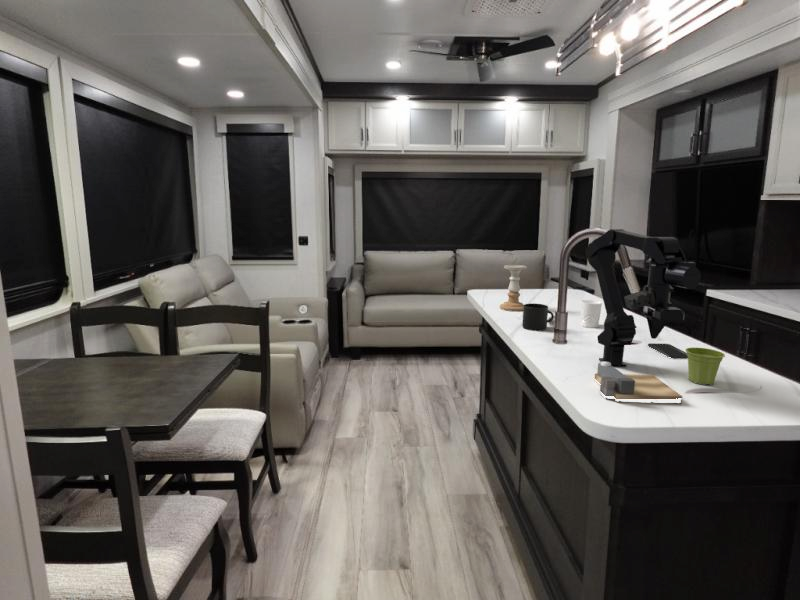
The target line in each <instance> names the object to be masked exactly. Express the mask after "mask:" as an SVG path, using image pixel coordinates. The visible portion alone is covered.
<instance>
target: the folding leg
mask: <svg viewBox="0 0 800 600" xmlns="http://www.w3.org/2000/svg"><path fill="white" fill-rule="evenodd" d="M596 374H598V375H600V376H601V375H609V376H610V377H612V378H613V379H614V380H615V387H614V388H615V389H616V390H617V391H618V392H619V393H620V394H634V387H635V380H633V379H632V378H628V377H626V376H625V375H624V374H625V373H623V372H621V371H620V370H619V369H617V368H616V367H615V366H612V365H611V363H610V362H605V361H603V362H601V361H600V362H599V363H598V364H597V372H596Z"/></svg>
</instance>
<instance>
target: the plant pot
mask: <svg viewBox="0 0 800 600" xmlns="http://www.w3.org/2000/svg"><path fill="white" fill-rule="evenodd" d="M685 352H686V353H687V356H688V359H687V365H688V367H687V368H688V369H687V371H688V381H691V382H692V381H693V382H692V383H694V382H696V383H695V384H698V383H699V385H702V384H706V385H710V384H712V385H714V384H715V381H716V378H717V375H718V371H719V367H720V365H721V362H723V359H724V358H725V357H726V354H725V353H723V352H721V351H719V350H717V349H716V350H715V349H711V348H705V347H694V346H693V347H687V348H686V349H685ZM713 383H714V384H713Z"/></svg>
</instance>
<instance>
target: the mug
mask: <svg viewBox="0 0 800 600" xmlns="http://www.w3.org/2000/svg"><path fill="white" fill-rule="evenodd" d="M523 305H524V307H523V311H522V328H523V329H525V330H528V331H535V330H536V331H538V332H539V330H541V331H545V330H547V329H548V323H551V322H552V321H553V320H554V313H553V312H552V311H550V310H549V306H548V305H547V304H543V303H542V304H541V303H525V304H523ZM548 314H550V316H551V318H550V319H548V317H549V316H548Z"/></svg>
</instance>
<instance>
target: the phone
mask: <svg viewBox="0 0 800 600" xmlns="http://www.w3.org/2000/svg"><path fill="white" fill-rule="evenodd" d="M648 346H649V348H650V347H651V348H650V349H652V348H653V349H655V350H657V351H659V352H660V353H659V352H658V353H659V354H661V353H662V354H664V355H666V356H667V357H666V356H665V357H666V358H668V357H671V358H688V356H687V352H686V351H684V350H683V349H680V348H678V347H677V346H674V345H672V344H671V343H653V342H652V343H650V342H649V343H647V347H648ZM653 349H652V350H653ZM655 350H654V351H655ZM657 351H656V352H657ZM662 354H661V355H662ZM664 355H663V356H664ZM671 358H670V359H671Z"/></svg>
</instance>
